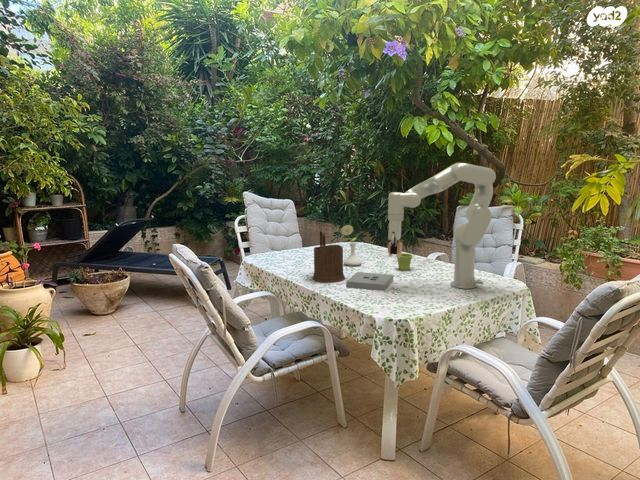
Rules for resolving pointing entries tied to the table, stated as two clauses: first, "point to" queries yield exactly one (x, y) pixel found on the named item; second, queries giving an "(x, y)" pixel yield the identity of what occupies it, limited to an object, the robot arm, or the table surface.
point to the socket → (370, 281)
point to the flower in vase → (352, 258)
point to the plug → (399, 249)
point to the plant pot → (404, 262)
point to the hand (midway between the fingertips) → (394, 252)
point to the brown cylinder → (328, 262)
